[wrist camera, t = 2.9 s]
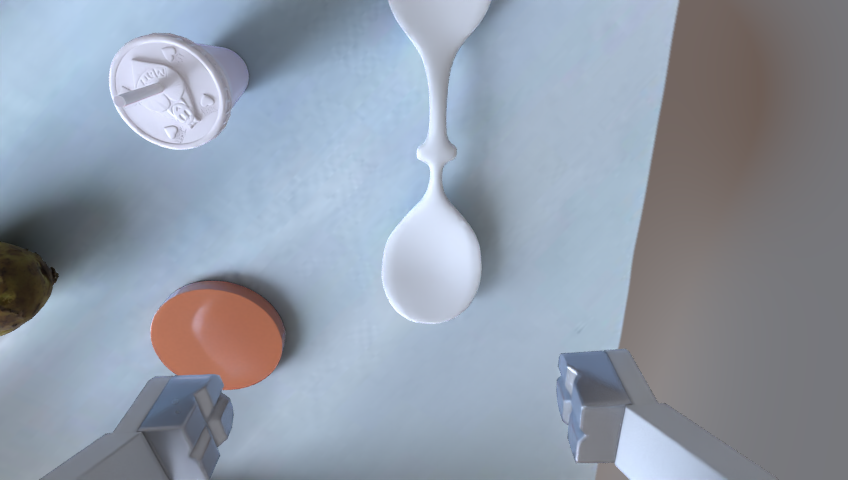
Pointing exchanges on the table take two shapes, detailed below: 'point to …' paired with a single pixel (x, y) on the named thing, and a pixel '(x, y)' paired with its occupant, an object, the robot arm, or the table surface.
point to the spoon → (434, 180)
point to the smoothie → (176, 88)
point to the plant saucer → (219, 333)
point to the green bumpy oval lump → (22, 285)
